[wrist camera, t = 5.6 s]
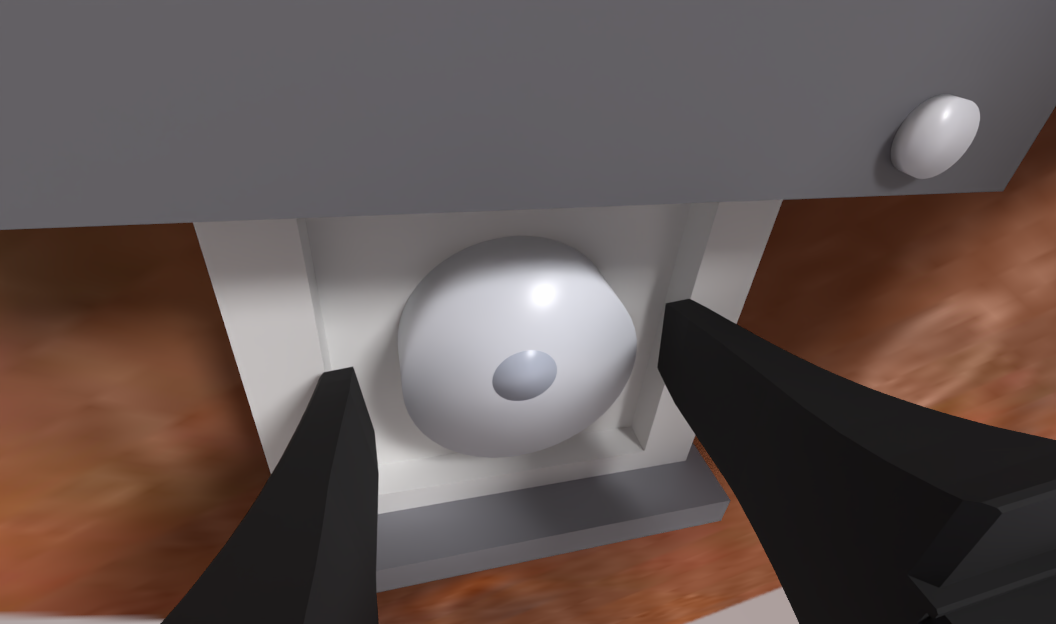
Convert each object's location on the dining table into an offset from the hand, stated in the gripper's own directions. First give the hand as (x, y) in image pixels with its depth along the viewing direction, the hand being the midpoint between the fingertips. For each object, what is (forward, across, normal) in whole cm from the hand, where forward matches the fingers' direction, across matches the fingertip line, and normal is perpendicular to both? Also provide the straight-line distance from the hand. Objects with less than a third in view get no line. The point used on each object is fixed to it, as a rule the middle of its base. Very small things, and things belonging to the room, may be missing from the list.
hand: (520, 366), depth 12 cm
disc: (+1, 0, 0) cm, 1 cm away
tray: (+2, 0, 0) cm, 2 cm away
